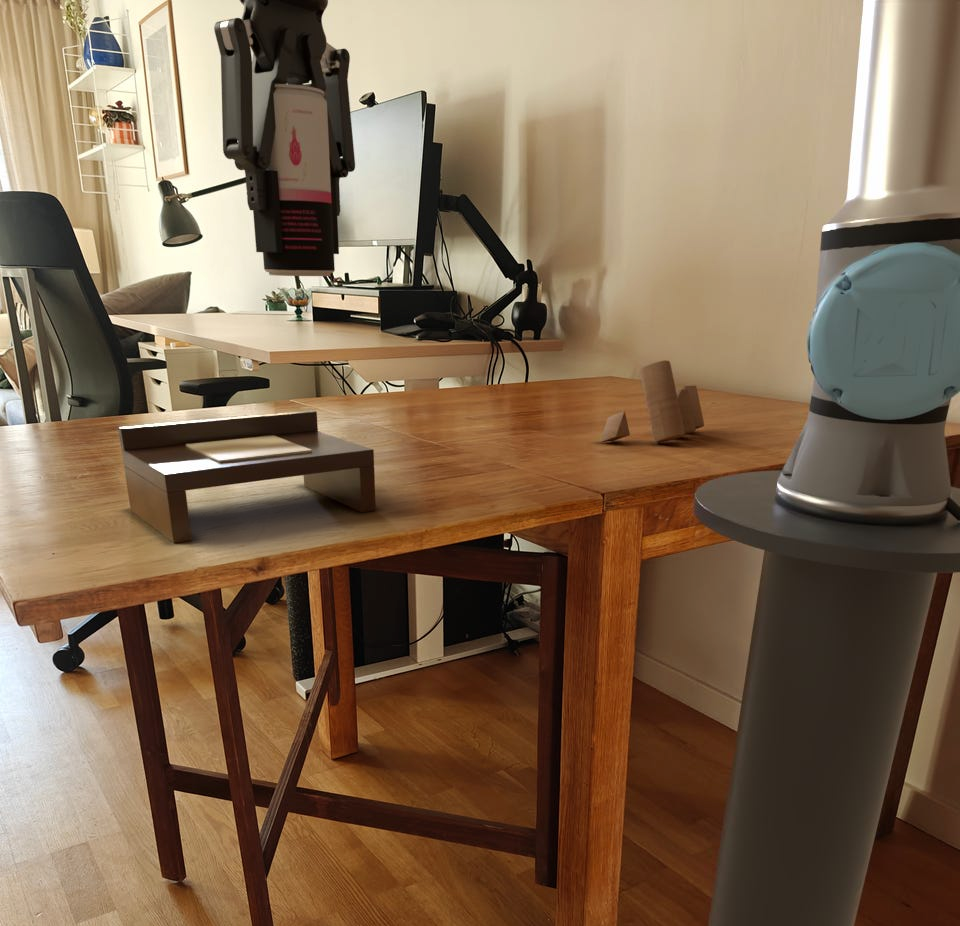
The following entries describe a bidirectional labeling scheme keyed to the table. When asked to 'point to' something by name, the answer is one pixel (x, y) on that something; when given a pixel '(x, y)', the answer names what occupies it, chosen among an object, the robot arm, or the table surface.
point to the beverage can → (302, 183)
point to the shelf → (237, 463)
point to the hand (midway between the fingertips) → (298, 252)
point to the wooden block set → (661, 407)
